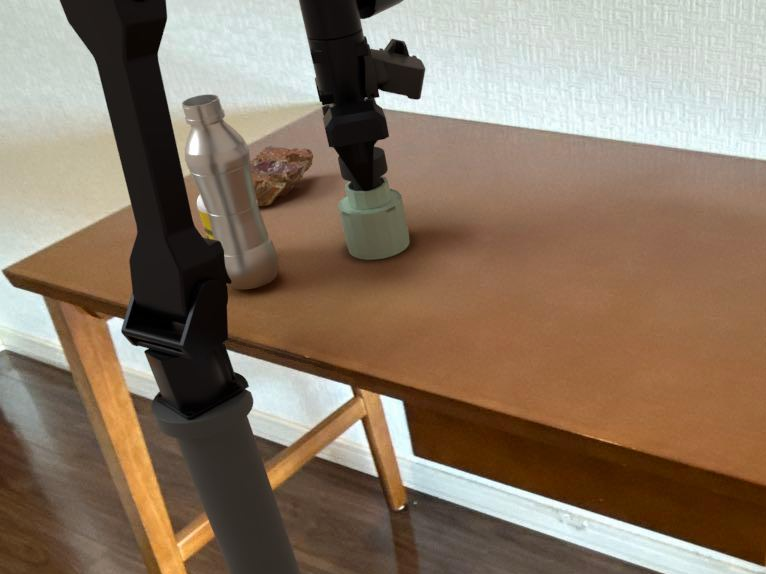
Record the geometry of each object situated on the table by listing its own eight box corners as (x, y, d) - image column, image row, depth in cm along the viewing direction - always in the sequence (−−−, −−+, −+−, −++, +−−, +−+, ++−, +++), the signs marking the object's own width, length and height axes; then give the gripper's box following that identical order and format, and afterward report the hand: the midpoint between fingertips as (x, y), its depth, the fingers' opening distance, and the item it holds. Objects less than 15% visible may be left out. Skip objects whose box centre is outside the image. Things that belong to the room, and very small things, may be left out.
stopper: (367, 211, 113) (357, 167, 110) (338, 202, 116) (328, 158, 113) (402, 195, 116) (394, 151, 113) (373, 186, 119) (364, 143, 115)
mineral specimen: (261, 161, 140) (273, 118, 135) (310, 192, 140) (323, 150, 136) (214, 196, 131) (224, 152, 127) (266, 228, 132) (278, 186, 127)
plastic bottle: (221, 278, 117) (163, 98, 104) (279, 264, 118) (229, 85, 105) (228, 302, 112) (168, 116, 99) (289, 287, 114) (237, 102, 101)
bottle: (375, 265, 116) (361, 201, 111) (336, 250, 120) (321, 188, 115) (422, 241, 119) (411, 178, 115) (382, 227, 123) (370, 166, 119)
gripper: (424, 43, 98) (448, 199, 108) (401, -1, 112) (424, 142, 122) (309, 62, 97) (345, 218, 107) (300, 15, 111) (332, 158, 121)
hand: (365, 181), depth 115 cm, fingers closed on stopper, 5 cm apart
